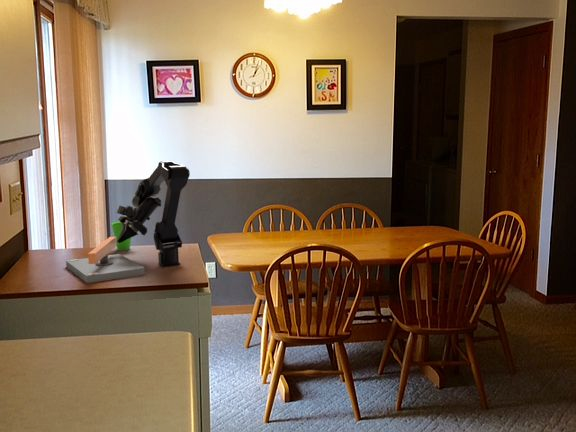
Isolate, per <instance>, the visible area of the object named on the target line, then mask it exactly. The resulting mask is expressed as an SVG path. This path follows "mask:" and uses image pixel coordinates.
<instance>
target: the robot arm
mask: <svg viewBox="0 0 576 432" xmlns="http://www.w3.org/2000/svg"><path fill="white" fill-rule="evenodd" d="M189 177H190V170H189V168H188V167H187V166H186V165H185V164H180V163H176V162H174V161H172V160H163V161H160V162H158V166H157V167H156V168H155V170H153V172H152V173H151V175H150V176H149V177H148V178H145V179H142V180H141V181H140V182H139V184H138V187H137V189H136V191H135V193H134V194H135V195H134V196H133V198H132V200H131V203H132V206H130V205H127V206H126V207H125V206H123V205H119V206H118V209H117V211H116V214H118V215H120V216H119V218H118V219H117V221H118V222H121V223H122V231H121V233H120V236H119V238H118V240H117V242H118V243H121V242H123V241H125V240H127V239H129V238H131V239H132V238H134V237H135V236H138V235H139V233H140V234H141V236H143V237H144V236H146V234H147V233H148V227H146V226H145V225H144V224H145V223H146V222H147V221H150V220H151V218H150V217H151V216H152V215H153V214H154V213H155V211H156V210H157V209H158V207H159V208H160V207H162V200H161V198H159V197H156V196H158V195H159V193H161V192H160V191H161V190H162V189H161V185H162V184H163V182H165V184H166V193H165V194H166V195H165V200H164V206H163V211H162V212H163V213H162V216H161V217H162V218H161V221H157V222H156V223H155V229H154V230H153V231H154V233H153V237H152V238H153V243H154V246H155V249H156V251H158V264H159V265H161V266H163V267H166V268H167V267H171V266H178V265H181V264H182V263H181V262H179V259H180V258H179V256H180V255H179V248H180V249H181V248H182V247H183V242H182V240H181V239H182V238H181V237H180V235H179V229H178V228H177V226H176V220H177V214H178V209H179V204H180V197H181V192H182V190H183V189H184V188H185V187H186V186H187V185H188V181H189ZM138 232H139V233H138Z"/></svg>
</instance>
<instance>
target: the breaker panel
mask: <svg viewBox="0 0 576 432" xmlns="http://www.w3.org/2000/svg"><path fill="white" fill-rule="evenodd" d="M65 263H66V264H65V266H66V268H67V269H68V270H70V271H71V272H72V273H73V274H75V275H76V276H77V277H79V278H80V279H82V280H83V281H84V282H85V283H86V284H92V283H97V282H105V281H110V280H116V279H124V278H125V279H126V278H130V277H137V276H144V275H146V271H145V270H146V269H145V267H144V266H143V265H140V264H138V263H137V262H135V261H133V260H131V259H129V258H127V257H126V256H124V255H123V254H120V253H116V254H108V263H107V264H100V261H99V262H98V263H96V264H89V261H88V257H86V258H75V259H69V260H65Z"/></svg>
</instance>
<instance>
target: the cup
mask: <svg viewBox="0 0 576 432" xmlns="http://www.w3.org/2000/svg"><path fill="white" fill-rule="evenodd" d="M110 225H111V227H112V231H113V237H116V243H117V246H116V249H117V250H118V251H128V250H130V248H131V242H132V241H131V240H132V237H131V238H129V239H127V240H125V241H123V242H121V243H118V242H117V240H118V238H119V236H120V233H121V231H122V223H121V222H120V221H117V222H112V223H111V224H110Z"/></svg>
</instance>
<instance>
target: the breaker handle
mask: <svg viewBox="0 0 576 432" xmlns="http://www.w3.org/2000/svg"><path fill="white" fill-rule="evenodd" d="M115 248H117V243H116V237H114V236H109V237H108V238H107V239H105V240H103V242H101V243H100V244H98V245H97V246H96V247H95V248H93V249H92V250H90V251H89V252H88V253H87V258H88V261H89V264H96V263H98V262H99V261H100V264H107V263H108V255H109V254H110V252H111V251H112V250H113V249H115Z"/></svg>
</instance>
